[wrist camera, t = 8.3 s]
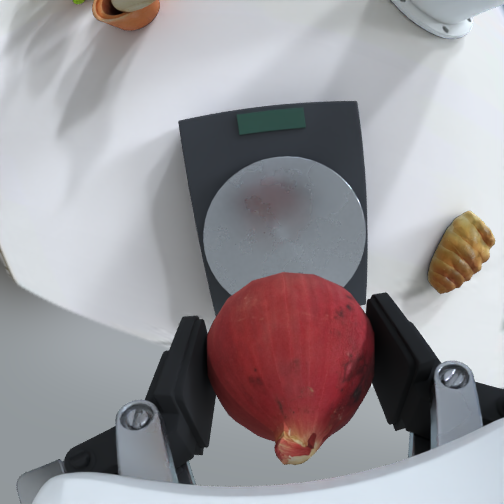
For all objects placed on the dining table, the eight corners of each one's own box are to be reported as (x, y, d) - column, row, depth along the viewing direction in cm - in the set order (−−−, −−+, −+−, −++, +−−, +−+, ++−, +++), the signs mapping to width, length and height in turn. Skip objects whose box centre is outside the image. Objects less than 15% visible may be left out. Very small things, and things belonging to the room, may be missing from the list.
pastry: (442, 296, 28) (458, 312, 25) (413, 268, 27) (430, 284, 24) (485, 236, 26) (505, 246, 22) (460, 201, 24) (481, 209, 21)
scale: (186, 123, 23) (177, 120, 20) (346, 105, 22) (358, 100, 19) (220, 307, 29) (217, 325, 26) (356, 290, 28) (366, 305, 25)
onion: (334, 227, 12) (435, 349, 4) (350, 333, 14) (404, 468, 6) (201, 261, 12) (140, 411, 5) (240, 360, 14) (231, 502, 7)
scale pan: (190, 169, 21) (189, 169, 20) (359, 149, 20) (361, 150, 20) (220, 316, 25) (219, 320, 25) (362, 298, 25) (364, 301, 24)
